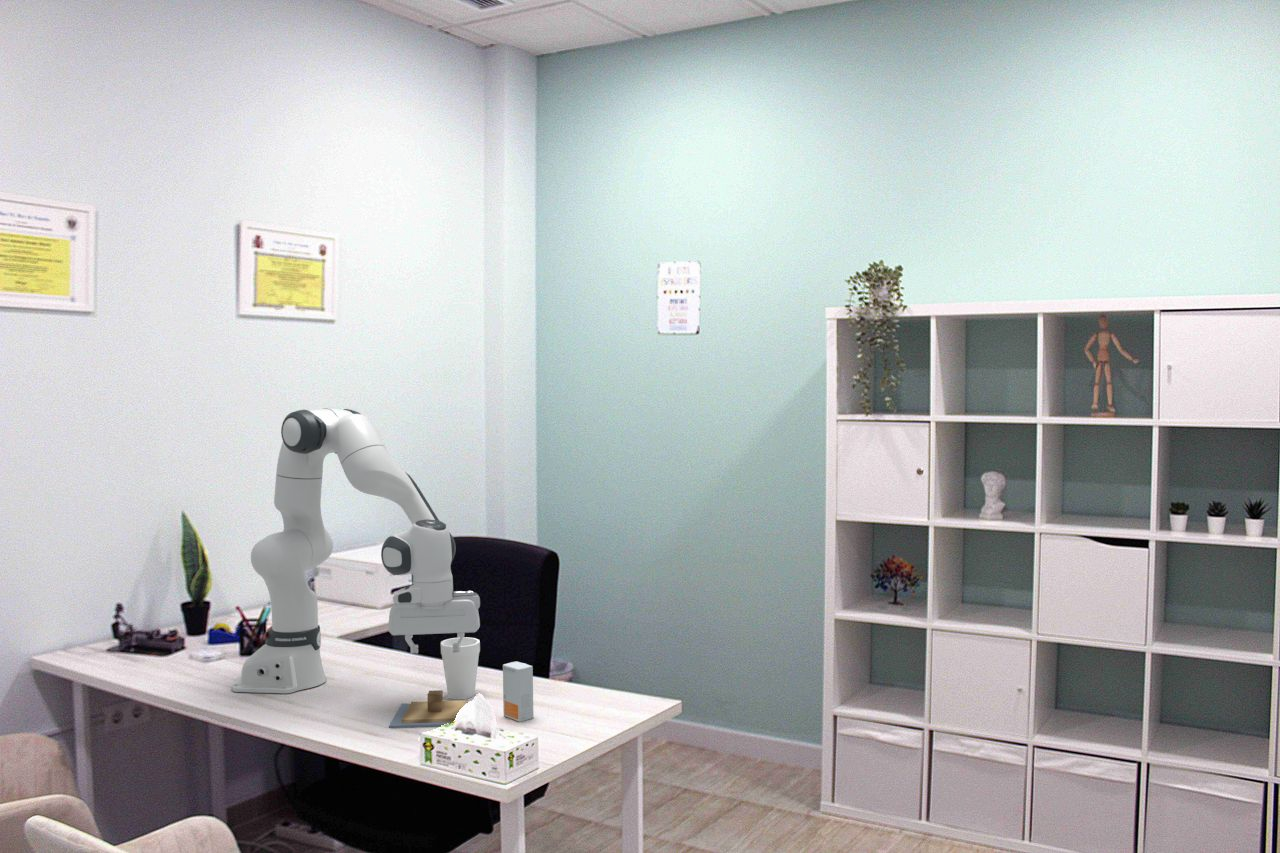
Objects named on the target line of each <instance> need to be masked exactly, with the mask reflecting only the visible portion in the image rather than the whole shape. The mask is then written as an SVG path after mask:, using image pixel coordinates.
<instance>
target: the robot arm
mask: <svg viewBox="0 0 1280 853" xmlns="http://www.w3.org/2000/svg"><path fill="white" fill-rule="evenodd" d="M280 434H281V440H282V443H281V446H280V450H279V454H278V459H277V463H276V472H275V474H276V475H275V483H274V484H275V486H274V495H273V496H274V498H273V504H274V508H276V510H277V511H279V512H280V515H281V517H282V523H283V529H282V531H280V532H275V533H272V534H268V535H267V536H265V537H263V539H260V540H259V541H258V542H256V544H254V545H253V547H252V549H251V551H250V563H251V566H252V568H253V570H254V571H255V572H256V573H257V574H258V575H259V576H260V577H261V578H262V579H263V580H264V582H265V585H266V587H267V591H268V595H269V598H270V608H271V624H272V625H271V626H269V627H268V628H267V630H266V631H264V634H263V635H262V636H263V637H262V639H263V640H264V642H265V643H264V644H263V645H262V646H261V647H260V648H258V649H257V650H256V651H254V653H252V654H251V655H249V657H247V658H246V659H245V661H244V663H243V665H242V668H241V673H240V674H241V676H239V677H238V678H237V679H235V680H234V682H232V684H231V691H232V692H235V693H258V694H259V693H260V694H264V693H265V694H291V693H295V692H298V691H301V690H302V691H303V690H307V689H310V688H315V687H317V686H321V685H323V684H325V682H326V681H327V676H326V674H325V672H324V671H325V670H324V666H323V663H322V662H323V661H322V656H321V650H320V648H321V645H322V637H321V636H322V633H321V627H320V625H319V615H318V614H319V612H318V611H319V608H318V596H317V593H315V591H314V590H312V589H311V588H310V586H309V583H308V581H307V577H306V571H307V570H311V569H314V568H317V567H319V566H320V565H322V564H323V563H324V562H325V561H327V560H328V559H329V558H330V557H331V555H332V553H333V549H334V543H333V538H332V536H331V534H330V533H329V532H328V530H326V528H325V524H324V522H323V520H324V519H323V517H322V516H323V515H322V510H321V509H322V508H321V507H322V506H321V500H322V499H321V498H322V486H323V472H324V471H323V470H324V469H323V468H324V460H325V458H326V456H327V455H329V454H331V453H334V454H336V455H337V457H338V460H339V462H340V464H341V465H340V466H341V467H342V470H343V472H344V475H345V476H346V479H347V481H348V482H349V483H350V484H351V486H352V487H353V488H354V489H355V490H358V492H361V493H364V494H366V495H371V496H376V497H380V498H384V499H387V500H390V501H391V502H393V503H395V504H397V505H398V506H399V507H401V509H402V510H403V511H404V514H406V516H407V518H408V520H409V521H410V523H411V524H412V526H410V527H409V528H408V529H407V530H404V531H402V532H399V533H396V534H393V535H391V536H390V535H389V536H388V537H387V538H386V539H384V540H385V541H384V542H383V544H382V546H381V551H380V553H381V554H380V556H381V557H380V558H381V561H382V565H383V567H384V568H385V570H386V571H387V572H388V573H390V574H391V575H393V576H406V575H412V576H413V577H412V578H413V579H412V585H409V586H406V587H403V588H400V589H398V590H397V591H396V592H395V593H393V595H392V601H393V603H394V604H392V606H391V607H390V609H389V610H390V611H389V616H388V632H389V633H390V634H391V636H404V640H405V642H406V643H407V645H408V647H410V655H418V654H419V644H415V643H414V640H412V638H413V637H414V636H413V635H434V634H435V635H436V634H457V636H456V638H459V637H460V638H459V640H458V642H457V643H453V652H460V643H461V641H462V639H463V637H465V634H467V633H476V632H478V630H479V628H480V626H481V620H480V614H479V608H480V607H481V598H480V596H479V594H478V593H477V592H474V591H473V590H467V591H462V590H459V591H458V590H456V591H454V583H453V582H454V579H453V574H452V569H451V568H452V567H451V565H452V562H453V560H454V558H455V555H456V552H457V549H456V548H457V547H456V546H457V545H456V542H455V539H454V537H453V535H452V533H450V530H449V527H448V525H447V524H446V523H444V522H443V521H441V520H440V519H439V518H438V517H437V514H436V513H435V511H434V510H433V508H432V507H431V505H430V504H429V502H428V500H427V499H426V497H425V495H424V494H423V493H422V491H421V489H420V488H419V486H418V484H417V483H416V482H415V480H414V478H412V477H411V475H410V474H408V473H407V472H405V471H404V470H403V469H402V468H401V467H400V466H399V465H398V464H397V463H396V462H395V460H394V459H393V458H392V456H391V455H390V453H389V451H388V450H387V447H386V446H385V443H384V441H383V439H382V438H381V436H380V434H379V432H378V430H377V429H376V427H375V426H374V424H373V423H372V422H371V421H370V419H369V418H368V417H367V416H366V415H364V414H362V413H360V412H358V411H356V410H353V409H349V408H344V409H341V408H335V407H334V408H333V407H332V408H331V407H330V408H329V407H324V408H315V409H299V410H295V411H293V412H290V413H288V414H287V415H286V416H285V418H283V421H282V424H281V430H280Z"/></svg>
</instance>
